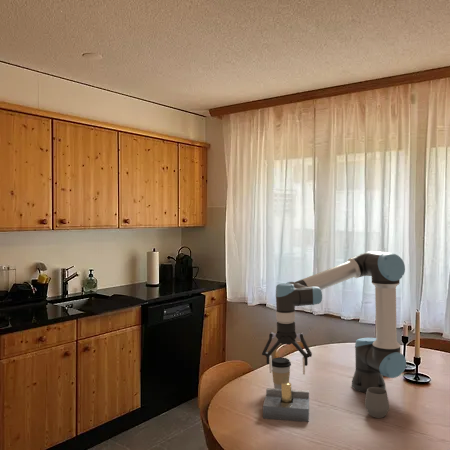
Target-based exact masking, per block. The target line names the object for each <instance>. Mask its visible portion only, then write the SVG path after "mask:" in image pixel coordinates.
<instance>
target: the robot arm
mask: <svg viewBox="0 0 450 450" xmlns="http://www.w3.org/2000/svg"><path fill="white" fill-rule="evenodd" d="M405 272H406V265H405V262H404V260H403V259H402V257H400V256H399V255H398V254H396V253H392V252H388V251H377V250H370V251H366V252H363V253H360V254H358V255H355V256H353V257H350V258H348V259H347V261H346V262H344V263H341V264H337V265H336V266H333V267H330V268H329V269H325V270H323V271H321V272H318V273H314V274H312V275H310V276H307V277H305V278H302V279H300V280H297V281H287V282H284V283H278V284H277V285H276V286H275V302H276V303H275V304H276V307H275V308H276V312H275V313H276V321H277V322H276V332H275V333H274V332H273V331H270V332H269V336H268V339H267V342H266V344H265V346H264V348H263V350H262V353H261V355H262V356H265V358H266V365H269V374H272V359H273V357H272V354H273V353H274V351H275V350H276V349H277V348H278V347H279V345H292V346H293V347H295V348H296V350H297V351H298V352H299V353H300V354H301V355H302V375H306V367H308V365H309V363H308V362H309V361H308V358H312V356H313V353H312V351H311V349H310V347H309V345H308V344H307V341H306V340H305V338H304V337H305V336H304V333H303V332H299V333H296V322H295V321H296V308H295V307H302V306H303V307H305V306H315V305H319V304H321V303H322V300H323V290H324V289H328V288H329V287H332V286H335V285H337V284H340V283H343V282H346V281H347V280H351V279H353V278H355V279H359V278H361V277H367V276H368V277H371V284H372V285H373V286H374V290H375V291H374V292H375V337H363V338H358V339H356V340H355V344H354V345H355V346H354V349H355V350H354V351H355V354H354V355H355V356H354V357H355V369H354V370H355V371H354V374H353V376H352V379H351V387H352V388H353V389H354V390H355V391H357V392H361V393H366V392H367V389H368V388H371V387H378V388H382V389H385V390H386V382H385V379H384V377H387V378H389V379H390V378H391V379H395V378H398V377H400V376H401V375H402V373H404V372H405V369H406V368H407V358H406V356H405V355H403V353H402V352H401V344H400V343H399V342H398V341H397V287H398V285H399V286H400V280H401V279H402V278H403V276H405ZM275 337H276V338H277V341H276V342H274V344H273V346H272V347H271V348H270V349H269V347H270V344H271V342H272V341H273V339H275ZM297 338H298V340H300V342H301V344H302V346H303V348H304V349H305V350H304V349H303V348H302V346H301V345H300V344H299V343H298V341H296V339H297ZM268 349H269V350H268Z"/></svg>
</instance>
